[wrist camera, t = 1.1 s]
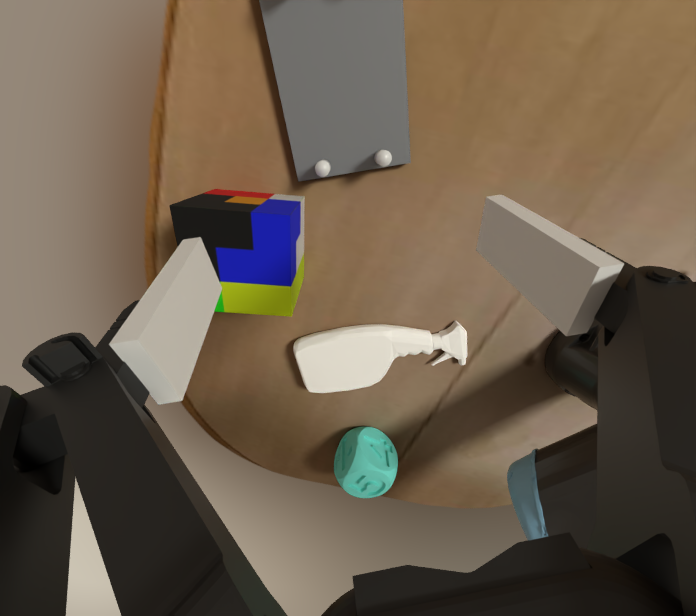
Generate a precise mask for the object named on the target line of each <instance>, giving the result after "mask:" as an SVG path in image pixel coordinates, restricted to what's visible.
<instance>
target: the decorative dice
mask: <svg viewBox="0 0 696 616" xmlns="http://www.w3.org/2000/svg"><path fill="white" fill-rule="evenodd" d="M397 468H398V457H397V452H396V449H395V447H394V445H393V443H392V442H391V440H390V439H389V438H388V437H387V436H386V435H385V434H384V433H383V432H381V431H380V430H378V429H376V428H373V427H365V426H364V427H357V428H354V429H352V430H350V431H348V432H347V433H346V434H345V435H344V436H343V438H342V439H341V441H340V443H339V446H338V448H337V451H336V455H335V460H334V473H335V476H336V479H337V481H338V482H339V484H340V486H341V487H342V488H343V489H344V490H345V491H346V492H347V493H348V494H350V495H352V496H355V497H358V498H373V497H377V496H380V495H382V494H384V493H385V492H387V491H388V490H389V488H390V487H391V486H392V484H393V482H394V480H395V477H396V473H397Z"/></svg>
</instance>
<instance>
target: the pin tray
mask: <svg viewBox="0 0 696 616" xmlns="http://www.w3.org/2000/svg"><path fill="white" fill-rule="evenodd" d="M259 2H260V6H261V11H262V16H263V20H264V25H265V29H266V34H267V39H268V43H269V48H270V52H271V57H272V62H273V66H274V71H275V76H276V80H277V85H278V89H279V94H280V99H281V103H282V108H283V113H284V117H285V122H286V126H287V131H288V136H289V140H290V145H291V149H292V154H293V159H294V163H295V168H296V173H297V177H298V182H299V181H305V180H311V179H317V178H323V177H329V176H335V175H341V174H347V173H353V172H359V171H365V170H371V169H377V168H382V167H388V166H394V165H400V164H406V163H411V161H410V140H409V119H408V98H407V77H406V56H405V35H404V14H403V0H259Z"/></svg>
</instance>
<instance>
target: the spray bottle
mask: <svg viewBox="0 0 696 616" xmlns="http://www.w3.org/2000/svg"><path fill="white" fill-rule="evenodd" d="M436 349H442V350H443V351H445V352H444V353H443V354H442V355H441V356H439V357H438V358H437V359H436V360H434V361H433V362H432V363H431V364H432V365H433V366H434V365H435V364H437V363H439V362H441V361H443V360H446V359H448V358H451V357H455V358H456V359H458V362H459V364H460V365H465V364H466V357H467V332H466V330H465V329H464V328H463V327H462V326H461V325H460V324H459V323H458V322H457V321H454V323H453V324H452V325H451V326H450V327H448V328H447V329H445V330H442V331H439V333H435V334H431V333H430V331H428V330H422V329H415V328H409V327H403V326H394V325H385V324H367V325H356V326H348V327H341V328H336V329H331V330H326V331H322V332H317V333H313V334H310V335H306V336H303V337H301V338H298V339H297V340H296V341H295V342H294V347H293V352H294V355H295V358H296V361H297V364H298V367H299V370H300V373H301V376H302V379H303V382H304V384H305V386H306V388H307V389H308V390H309V391H310V392H315V393H328V392H337V391H347V390H353V389H358V388H363V387H369V386H371V385H373V384H375V383H377V382H379V381H380V380H381V379H382V378H383V377H384V375H385V374H386V373H387V371H388V369H389V367H390V365H391V363H392V362H393V360H394V359H395V358H396V357H398V356H406V355H407V354H412V355H416V354H418V353H420V352H422V353H425V354H428V355H429V354H431V353H432V352H433V350H436Z"/></svg>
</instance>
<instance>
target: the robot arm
mask: <svg viewBox="0 0 696 616" xmlns="http://www.w3.org/2000/svg"><path fill="white" fill-rule="evenodd" d="M476 251H477V252H478V253H479V254H480V255H481V256H483V257H484V258H485V259H486V260H487V261H488V262H489V263H490V264H491V265H492V266H493V267H494V268H495V269H496V270H497V271H498V272H499V273H500V274H501V275H502V276H503V277H504V278H506V279H507V280H508V281H509V282H510V283H511V284H512V285H513V286H514V287H515V288H516V289H517V290H518V291H519V292H520V293H521V294H522V295H523V296H524V297H525V298H526V299H528V300H529V301H530V302H531V303H532V304H533V305H534V306H535V307H536V308H537V309H538V310H539V311H540V312H541V313H542V314H543V315H544V316H545V317H546V318H547V319H548V320H550V321H551V322H552V323H553V324H554V325H555V326H556V327H557V328H558V329H559V330H560V332H559V333H558V334H557V335H556V337H555V338H554V339H553V341H552V342H551V344H550V346H549V348H548V350H547V353H546V357H545V367H546V370H547V373H548V374H549V376H550V377H551V378H552V379H553V380H554V382H555V383H556V384H557V385H558V386H559V387H560V388H561V389H562V390H564V391H565V392H567V393H569V394H571V395H573V396H576V397H578V398H579V399H580V400H582V401H583V402H585V403H586V404H588V405H589V406H591V407H593V408H594V409H596V410H598V416H597V424H595V425H593V426H590V427H588V428H586V429H584V430H582V431H580V432H578V433H575V434H573V435H571V436H569V437H566V438H564V439H562V440H559V441H557V442H555V443H553V444H550V445H548V446H546V447H544V448H541V449H534V450H533V451H532V453H530V454H529V455H527V456H525V457H523V458H521V459H519V460H517V461H515V462H514V463H512V464H511V465H510V467H509V469H508V473H507V481H508V488H509V492H510V496H511V499H512V502H513V505H514V508H515V511H516V514H517V516H518V519H519V521H520V524H521V526H522V529H523V531H524V533H525V535H526V538H527V539H528V541H524V542H519V543H517V544H515V545H513V546H512V547H511V548H509V549H507V550H506V551H504V552H503V553H501V554H500V555H498V556H497V557H495V558H493V559H492V560H490V561H489V562H488V563H486V564H484V565H483V566H481V567H480V568H478V569H476V570H475V571H473V572H470V573H462V572H454V571H447V570H440V569H432V568H425V567H418V566H411V565H405V566H400V567H395V568H390V569H386V570H380V571H375V572H370V573H365V574H360V575H356V576H353V584H354V588H353V589H352V590H350V591H348V592H347V593H345V594H344V595H342V596H341V597H340V598H339V599H337V600H336V602H334V603H333V604H332V605H331V606H330V607H329V608H328V609H327V610H326V611H325V612H324V613H323V614H322V615H321V616H696V282H692V280H691V279H690V278H689V277H687V276H686V275H684V274H682V273H680V272H677V271H674V270H672V269H667V268H663V267H656V266H643V267H639V268H635V267H633V266H632V265H630V264H628V263H626V262H624V261H623V260H621V259H619V258H617V257H615V256H614V255H612V254H610V253H608V252H605V250H603V249H601V248H599V247H596V245H594V244H592V243H590V242H588V241H587V240H585V239H582V238H579V237H576V236H575V235H573V234H571V233H569V232H568V231H566V230H564V229H562V228H560V227H559V226H557V225H555V224H553V223H552V222H550V221H548V220H546V219H544V218H543V217H541V216H539V215H537V214H536V213H534V212H532V211H530V210H528V209H527V208H525V207H523V206H521V205H520V204H518V203H516V202H514V201H512V200H511V199H509V198H507V197H505V196H504V195H496V196H489V197H486V201H485V206H484V211H483V216H482V222H481V227H480V232H479V238H478V243H477V248H476ZM221 291H222V287H221V284H220V282H219V279H218V277H217V275H216V272H215V270H214V268H213V265H212V263H211V261H210V258H209V256H208V253H207V251H206V249H205V246H204V244H203V242H202V239H201V237H198V238H191V239H184V240H182V242H181V243H180V245H179V246H178V247H177V249H176V250H175V252H174V253H173V255H172V256H171V257H170V259H169V260H168V262H167V263H166V264H165V266H164V267H163V269H162V270H161V271H160V273H159V274H158V276H157V277H156V279H155V280H154V281H153V283H152V284H151V286H150V287H149V288H148V290H147V291H146V293H145V294H144V296H143V297H142V298H141V300H138V301H135V302H133V303H132V304H131V305H129V306H128V307H127V308H126V309H124V310H123V311H122V313H121V314H120V315H119V317H118V318H117V319H116V322H114V323H113V325H112V326H111V328H110V330H108V331H107V333H106V334H105V335H104V337H103V338H102V339H101V341H100V342H99V344H98V345H97V346H96V347H94V346H93V345H92V344H91V343H90V341H89V340H88V339H87V338H86V337H85V336H84V335H83V334H81V333H68V334H64V335H60V336H57V337H55V338H52V339H50V340H48V341H46V342H45V343H43V344H41V345H39V346H38V347H36V348H35V349H34V350H33V351H31V352H30V353H29V354H28V355H27V356H26V357H25V359H24V360H23V363H22V366H23V368H25V369H26V370H27V371H28V372H29V373H30V374H31V375H33V376H34V377H35V378H36V379H37V380H38V381H40V382H41V383H42V384H43V385H44V387H42V388H39V389H36V390H33V391H31V392H28V393H25V394H22V395H19V394H18V393H17V392H15V391H14V390H13V389H12V388H10V387H8V386H0V616H65V615H66V602H67V588H68V574H69V558H70V544H71V531H72V516H73V501H74V487H75V476H76V479H77V482H78V485H79V488H80V492H81V495H82V498H83V501H84V503H85V507H86V509H87V513H88V516H89V519H90V522H91V524H92V528H93V531H94V534H95V537H96V540H97V543H98V546H99V549H100V552H101V555H102V558H103V561H104V564H105V567H106V570H107V573H108V576H109V579H110V582H111V585H112V588H113V591H114V594H115V597H116V600H117V604H118V607H119V609H120V613H121V616H287V615H286V613H285V612H284V610H283V609H282V608H281V606H280V605H279V604H278V603H277V601H276V600H275V599H274V597H273V596H272V595H271V594H270V592H269V591H268V590H267V588H266V587H265V585H264V584H263V583H262V581H261V580H260V578H259V576H258V575H257V574H256V572H255V570H254V569H253V567H252V566H251V564H250V563H249V561H248V560H247V558H246V557H245V555H244V554H243V552H242V551H241V549H240V548H239V546H238V545H237V543H236V542H235V540H234V539H233V537H232V535H231V534H230V532H229V531H228V529H227V528H226V526H225V525H224V523H223V522H222V520H221V519H220V517H219V516H218V514H217V513H216V511H215V510H214V508H213V507H212V505H211V504H210V502H209V500H208V499H207V497H206V496H205V494H204V493H203V491H202V490H201V488H200V487H199V485H198V484H197V482H196V481H195V479H194V478H193V476H192V475H191V473H190V472H189V470H188V469H187V467H186V465H185V464H184V463H183V461H182V459H181V458H180V456H179V455H178V453H177V452H176V450H175V449H174V447H173V446H172V444H171V443H170V441H169V440H168V438H167V437H166V435H165V434H164V432H163V431H162V429H161V428H160V426H159V425H158V423H157V421H156V420H155V418H154V417H153V415H152V414H151V412H150V411H149V410H148V408H147V407H146V406H145V405H144V404H145V401H146V399H147V397H148V395H149V394H150V395H151V396H152V398H153V399H154V400H155V401H156V403H157V404H158V405H160V404H166V403H171V402H178V401H182V400H183V397H184V395H185V392H186V389H187V386H188V383H189V381H190V378H191V375H192V372H193V369H194V367H195V364H196V361H197V358H198V355H199V353H200V350H201V347H202V344H203V341H204V339H205V336H206V333H207V330H208V327H209V324H210V322H211V319H212V316H213V313H214V310H215V308H216V305H217V302H218V299H219V296H220V294H221Z"/></svg>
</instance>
